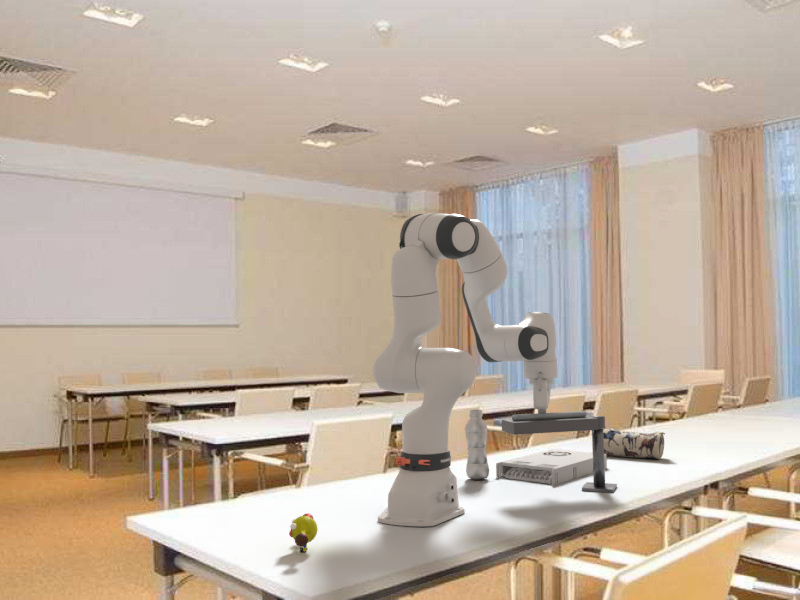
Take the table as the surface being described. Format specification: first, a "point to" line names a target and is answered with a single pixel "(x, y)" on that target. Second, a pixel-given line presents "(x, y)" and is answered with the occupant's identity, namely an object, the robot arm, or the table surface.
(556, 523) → the table surface
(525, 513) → the table surface
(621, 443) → the pencil case
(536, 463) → the power supply unit
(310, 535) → the toy figure
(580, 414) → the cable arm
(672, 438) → the table surface
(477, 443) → the plastic bottle
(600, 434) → the post
